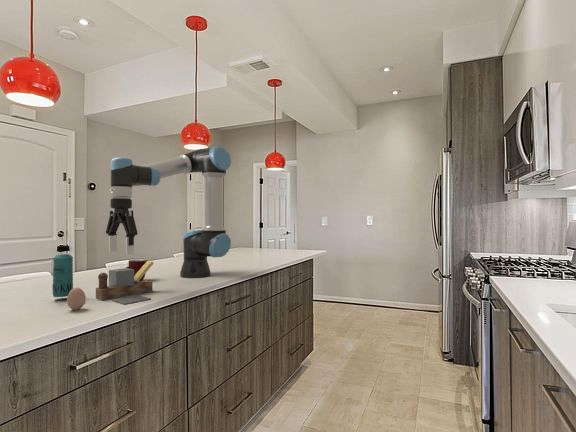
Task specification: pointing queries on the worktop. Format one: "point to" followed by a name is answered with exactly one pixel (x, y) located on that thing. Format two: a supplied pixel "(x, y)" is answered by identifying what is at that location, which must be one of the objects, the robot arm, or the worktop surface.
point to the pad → (131, 299)
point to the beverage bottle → (62, 273)
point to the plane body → (120, 289)
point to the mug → (137, 266)
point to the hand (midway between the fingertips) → (120, 253)
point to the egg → (76, 298)
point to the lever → (142, 271)
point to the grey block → (121, 277)
